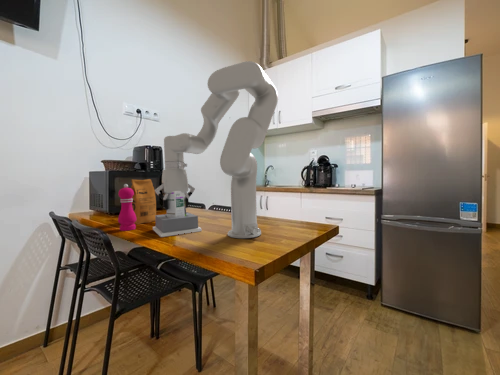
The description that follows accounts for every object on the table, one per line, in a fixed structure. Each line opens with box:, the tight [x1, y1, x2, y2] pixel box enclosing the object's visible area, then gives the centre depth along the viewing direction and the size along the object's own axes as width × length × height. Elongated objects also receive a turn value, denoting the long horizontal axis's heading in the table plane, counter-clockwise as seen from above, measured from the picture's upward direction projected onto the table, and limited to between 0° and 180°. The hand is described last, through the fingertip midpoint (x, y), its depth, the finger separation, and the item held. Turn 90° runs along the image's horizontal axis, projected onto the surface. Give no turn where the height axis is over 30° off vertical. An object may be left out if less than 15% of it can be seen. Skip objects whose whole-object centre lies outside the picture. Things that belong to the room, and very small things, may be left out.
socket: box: [152, 211, 202, 238], centre depth 99 cm, size 16×16×6 cm
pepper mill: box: [117, 183, 137, 232], centre depth 103 cm, size 7×7×20 cm
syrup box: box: [166, 191, 187, 218], centre depth 99 cm, size 6×6×14 cm
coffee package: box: [130, 178, 157, 225], centre depth 120 cm, size 10×12×22 cm
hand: (176, 208), depth 99 cm, fingers closed on syrup box, 7 cm apart
